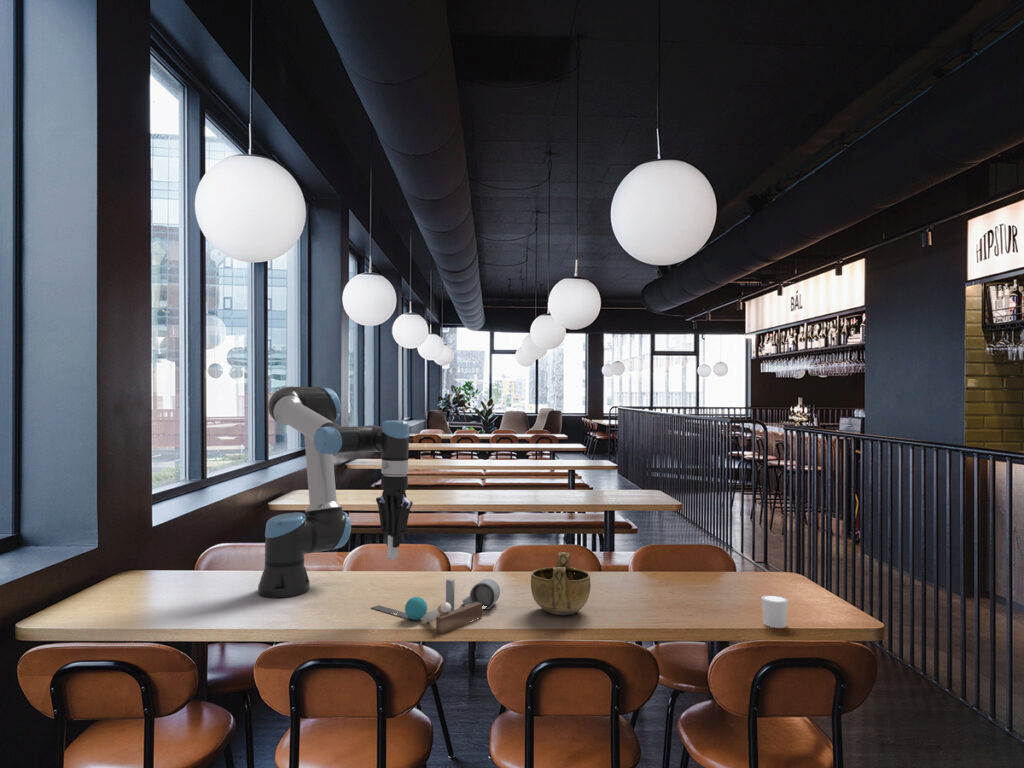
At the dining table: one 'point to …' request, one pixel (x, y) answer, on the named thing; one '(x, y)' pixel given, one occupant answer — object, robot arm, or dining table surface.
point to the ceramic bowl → (560, 587)
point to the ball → (415, 608)
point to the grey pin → (450, 592)
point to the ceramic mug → (484, 593)
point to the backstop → (458, 617)
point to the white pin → (437, 612)
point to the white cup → (774, 610)
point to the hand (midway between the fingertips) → (392, 558)
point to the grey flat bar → (391, 611)
